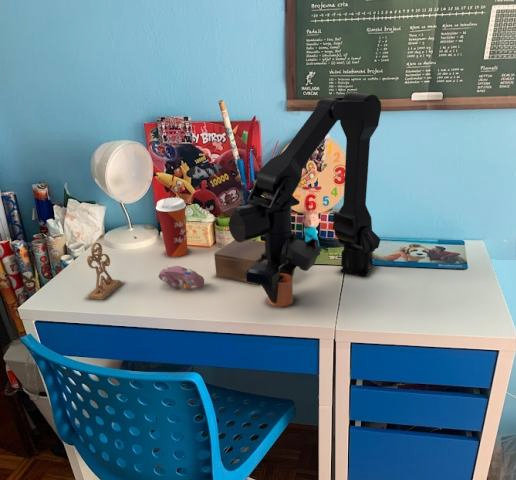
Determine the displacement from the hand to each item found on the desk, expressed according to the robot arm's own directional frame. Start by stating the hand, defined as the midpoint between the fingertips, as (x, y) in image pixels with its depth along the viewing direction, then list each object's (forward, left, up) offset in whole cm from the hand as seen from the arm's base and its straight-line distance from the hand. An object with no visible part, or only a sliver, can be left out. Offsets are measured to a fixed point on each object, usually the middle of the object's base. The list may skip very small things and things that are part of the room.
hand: (280, 296), depth 129 cm
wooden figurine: (+41, +12, -1) cm, 42 cm away
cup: (0, 0, -1) cm, 1 cm away
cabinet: (+15, -11, -1) cm, 18 cm away
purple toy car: (+25, +3, -1) cm, 25 cm away
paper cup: (+39, -14, -1) cm, 41 cm away
